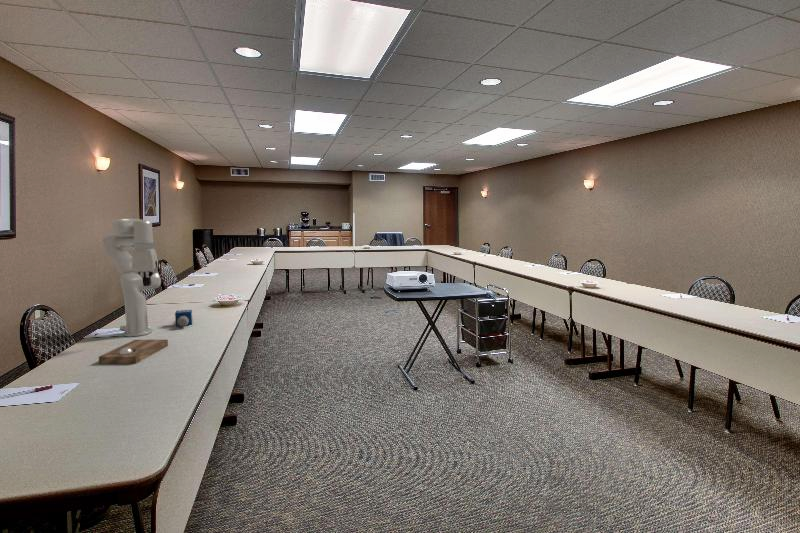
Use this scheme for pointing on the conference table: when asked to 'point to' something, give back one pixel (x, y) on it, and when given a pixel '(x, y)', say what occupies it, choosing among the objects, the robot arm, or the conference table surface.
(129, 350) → the ball
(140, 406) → the conference table surface
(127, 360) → the deck
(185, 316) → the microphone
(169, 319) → the conference table surface
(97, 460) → the conference table surface
